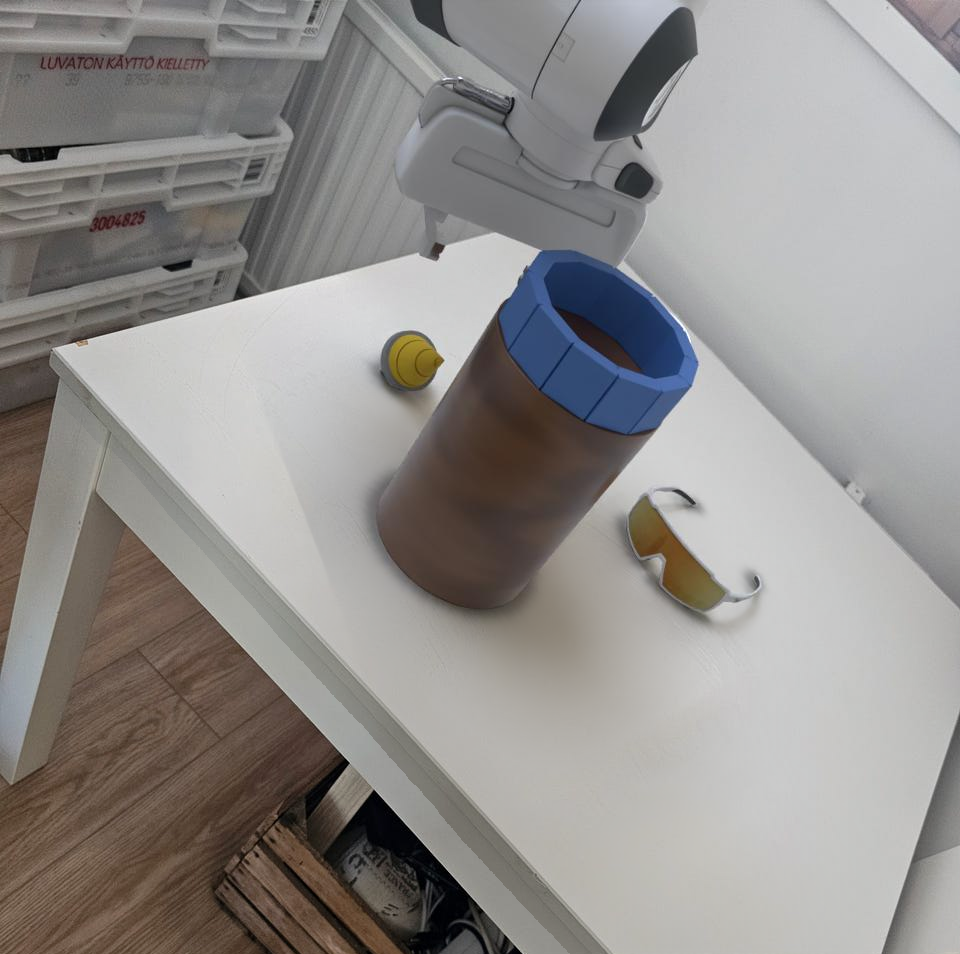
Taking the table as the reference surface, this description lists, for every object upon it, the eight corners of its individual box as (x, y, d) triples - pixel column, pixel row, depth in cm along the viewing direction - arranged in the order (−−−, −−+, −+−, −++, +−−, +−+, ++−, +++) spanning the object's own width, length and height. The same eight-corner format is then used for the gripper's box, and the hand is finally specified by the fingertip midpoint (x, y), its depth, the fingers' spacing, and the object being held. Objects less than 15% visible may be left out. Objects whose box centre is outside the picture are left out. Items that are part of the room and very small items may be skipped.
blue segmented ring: (520, 402, 66) (553, 354, 63) (485, 272, 73) (513, 225, 70) (683, 452, 72) (720, 412, 69) (636, 328, 80) (667, 287, 77)
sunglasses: (598, 517, 98) (632, 481, 95) (669, 502, 110) (701, 470, 107) (691, 633, 95) (730, 600, 92) (754, 606, 106) (790, 575, 104)
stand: (386, 592, 79) (517, 404, 65) (367, 460, 87) (481, 268, 73) (540, 622, 86) (688, 457, 72) (510, 497, 93) (638, 327, 80)
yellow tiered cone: (427, 377, 99) (479, 377, 90) (381, 400, 97) (429, 402, 89) (407, 322, 97) (458, 317, 88) (359, 345, 95) (406, 342, 86)
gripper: (446, 88, 70) (365, 254, 80) (681, 195, 80) (584, 333, 89) (433, 42, 74) (358, 207, 83) (660, 150, 83) (569, 287, 93)
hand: (477, 273), depth 86 cm, fingers open, 8 cm apart
